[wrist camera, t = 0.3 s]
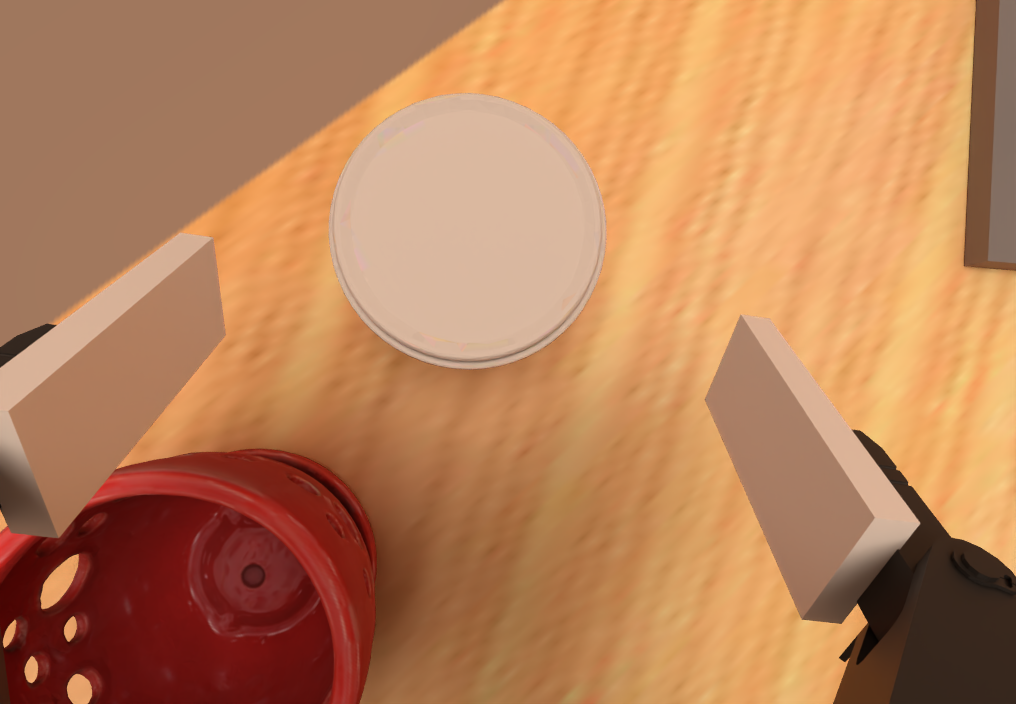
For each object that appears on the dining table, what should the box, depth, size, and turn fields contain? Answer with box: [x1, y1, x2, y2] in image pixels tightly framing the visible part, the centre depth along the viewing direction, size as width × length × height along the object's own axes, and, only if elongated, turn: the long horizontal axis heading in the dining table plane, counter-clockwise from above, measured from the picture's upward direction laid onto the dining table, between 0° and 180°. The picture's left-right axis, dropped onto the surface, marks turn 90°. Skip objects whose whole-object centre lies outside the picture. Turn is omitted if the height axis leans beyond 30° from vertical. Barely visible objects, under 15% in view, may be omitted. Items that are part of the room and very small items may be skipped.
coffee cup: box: [329, 93, 606, 370], centre depth 25 cm, size 9×9×12 cm
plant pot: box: [0, 449, 377, 704], centre depth 24 cm, size 13×13×12 cm
